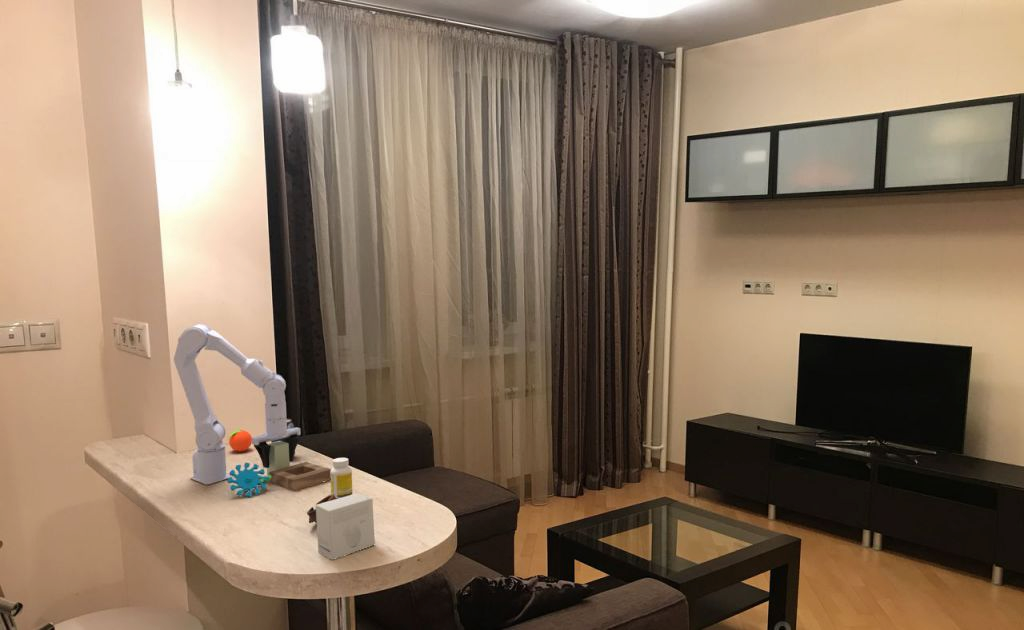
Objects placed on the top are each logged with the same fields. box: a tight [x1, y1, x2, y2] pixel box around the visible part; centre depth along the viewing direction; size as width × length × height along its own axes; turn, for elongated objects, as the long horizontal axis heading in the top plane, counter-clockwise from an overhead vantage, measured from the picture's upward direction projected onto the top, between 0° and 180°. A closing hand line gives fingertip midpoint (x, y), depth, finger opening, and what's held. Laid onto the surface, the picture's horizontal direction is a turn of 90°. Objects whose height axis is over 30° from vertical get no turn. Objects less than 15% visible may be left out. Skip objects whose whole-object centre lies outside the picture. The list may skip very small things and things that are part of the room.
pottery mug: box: [306, 494, 350, 524], centre depth 163 cm, size 12×10×8 cm
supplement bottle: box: [330, 457, 353, 498], centre depth 182 cm, size 5×5×10 cm
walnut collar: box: [268, 461, 332, 492], centre depth 196 cm, size 12×12×3 cm
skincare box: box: [315, 492, 376, 561], centre depth 149 cm, size 10×6×10 cm, turn 133°
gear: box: [227, 462, 272, 498], centre depth 188 cm, size 11×6×10 cm
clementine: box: [227, 429, 253, 453], centre depth 227 cm, size 8×7×7 cm
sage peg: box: [266, 441, 290, 476], centre depth 203 cm, size 4×4×9 cm
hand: (278, 464), depth 203 cm, fingers open, 7 cm apart
